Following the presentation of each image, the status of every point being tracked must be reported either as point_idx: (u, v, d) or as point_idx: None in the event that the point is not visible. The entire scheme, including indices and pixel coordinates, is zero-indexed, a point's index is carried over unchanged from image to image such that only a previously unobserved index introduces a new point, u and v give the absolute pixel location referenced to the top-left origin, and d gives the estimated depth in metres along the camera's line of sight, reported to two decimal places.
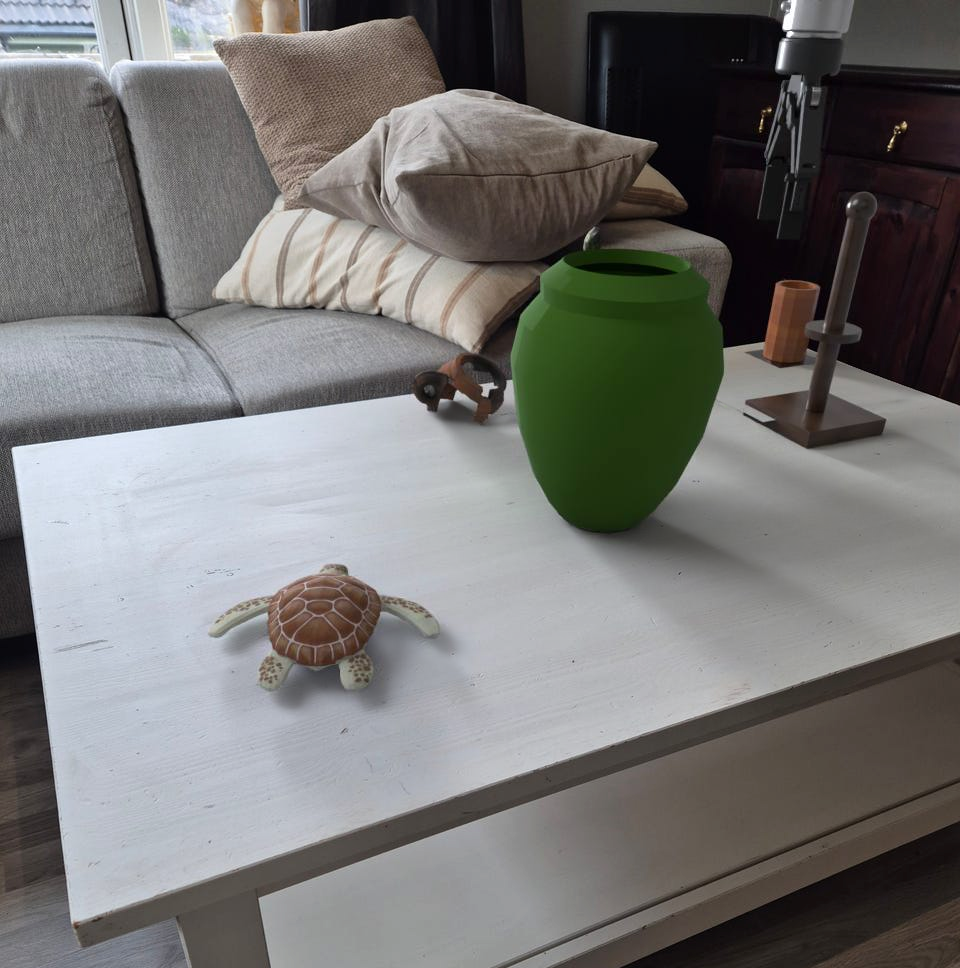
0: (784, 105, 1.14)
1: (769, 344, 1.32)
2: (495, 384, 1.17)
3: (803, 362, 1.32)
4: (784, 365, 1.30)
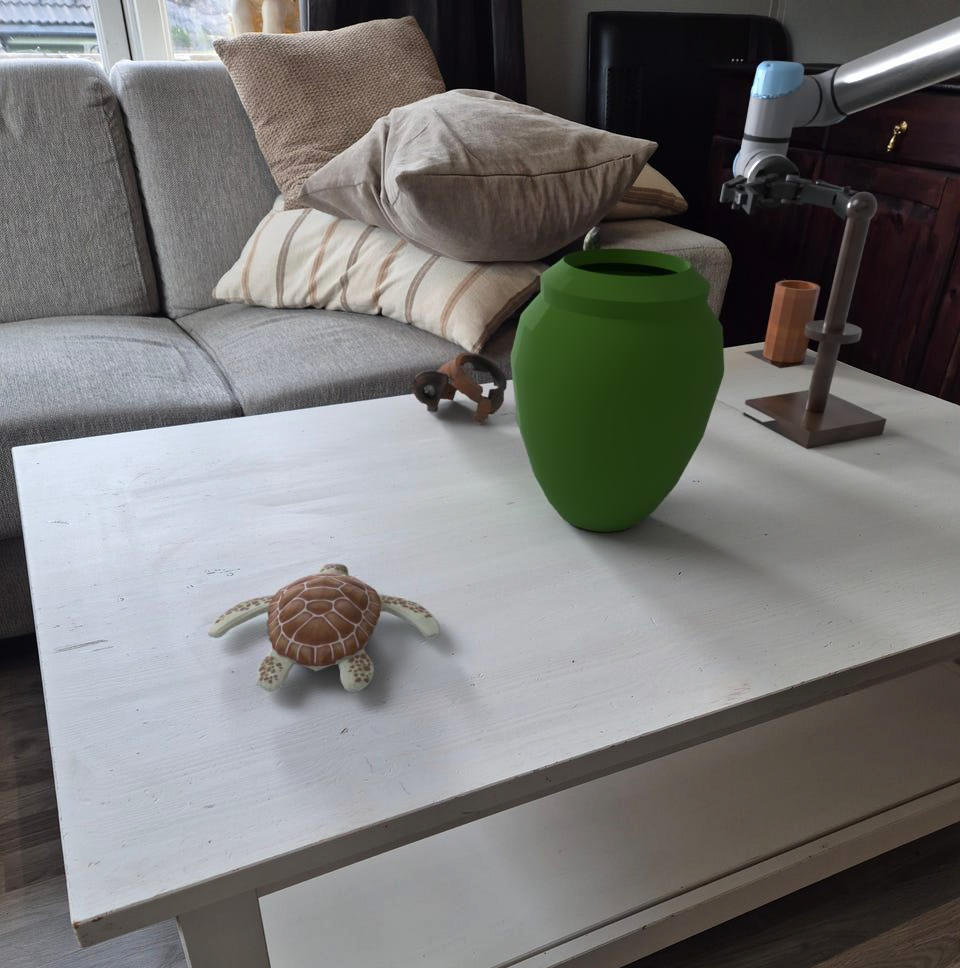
0: (786, 201, 1.43)
1: (769, 344, 1.32)
2: (495, 384, 1.17)
3: (803, 362, 1.32)
4: (784, 365, 1.30)
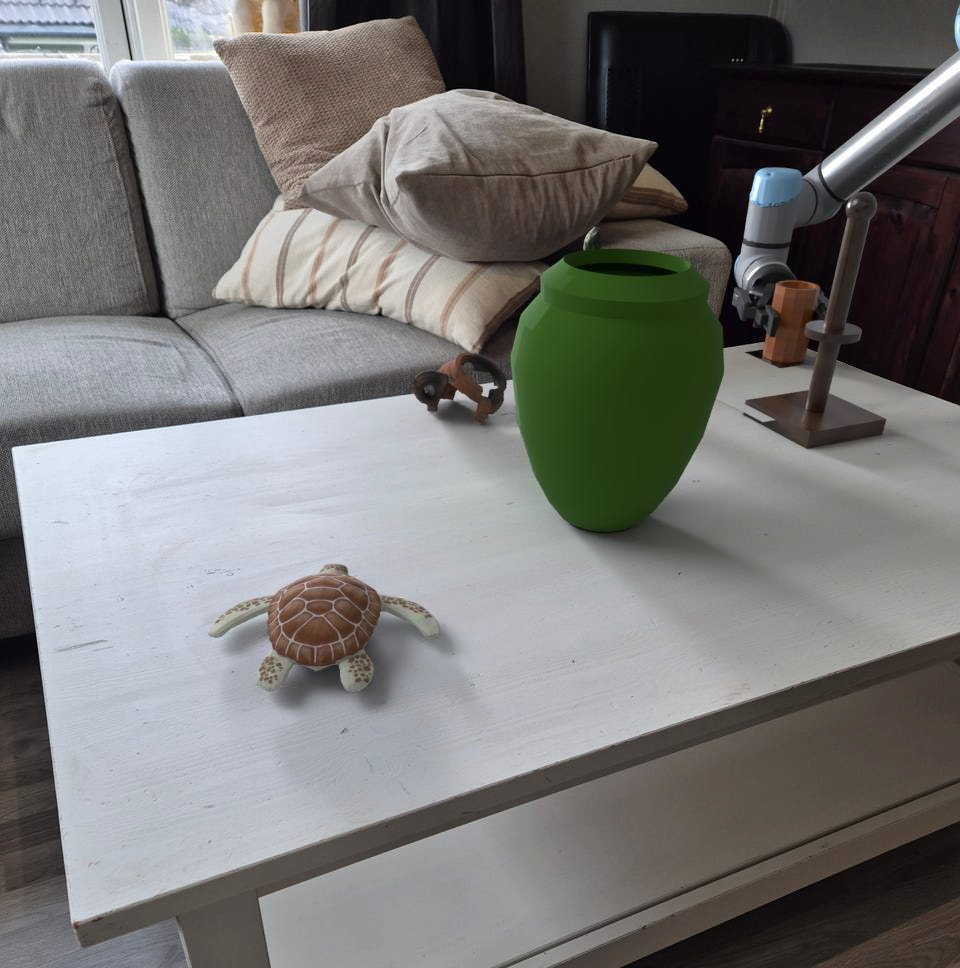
0: None
1: (769, 344, 1.32)
2: (495, 384, 1.17)
3: (803, 362, 1.32)
4: (784, 365, 1.30)
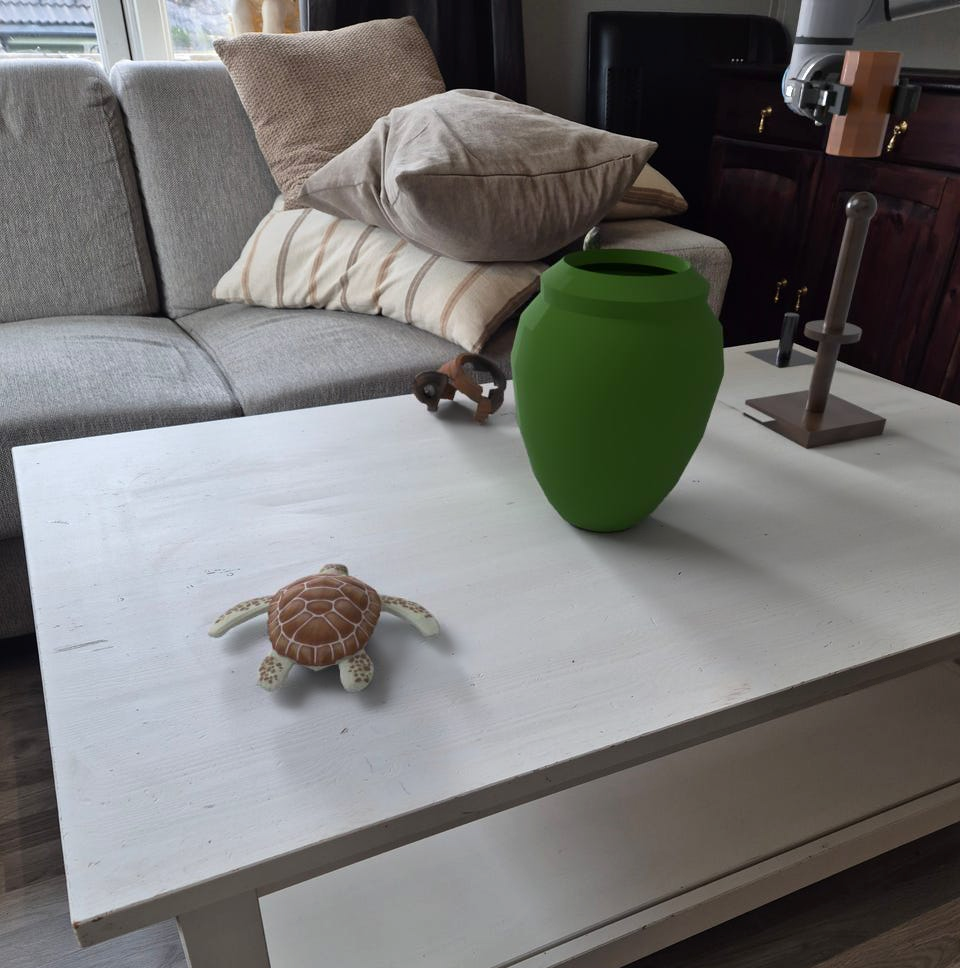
0: None
1: (835, 134, 1.04)
2: (495, 384, 1.17)
3: (803, 362, 1.32)
4: (784, 365, 1.30)
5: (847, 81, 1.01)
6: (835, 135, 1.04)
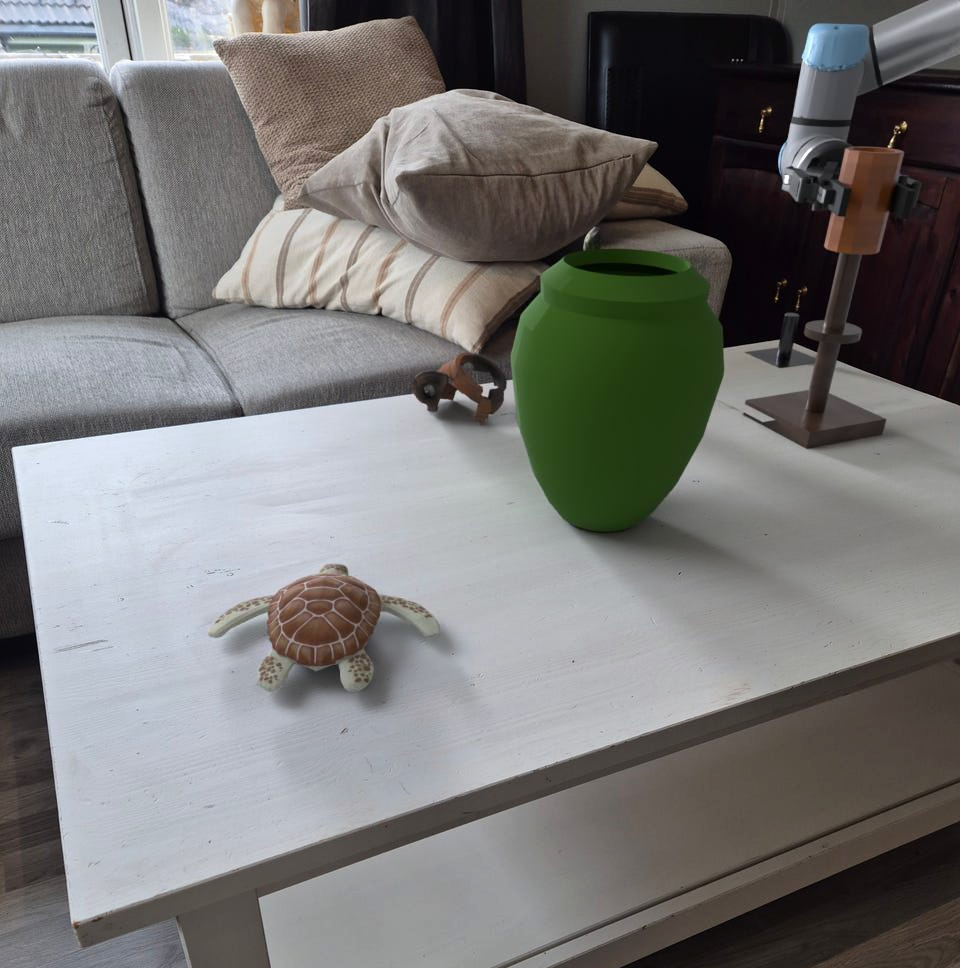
0: None
1: (834, 231, 1.02)
2: (495, 384, 1.17)
3: (803, 362, 1.32)
4: (784, 365, 1.30)
5: (846, 180, 0.99)
6: (834, 232, 1.02)
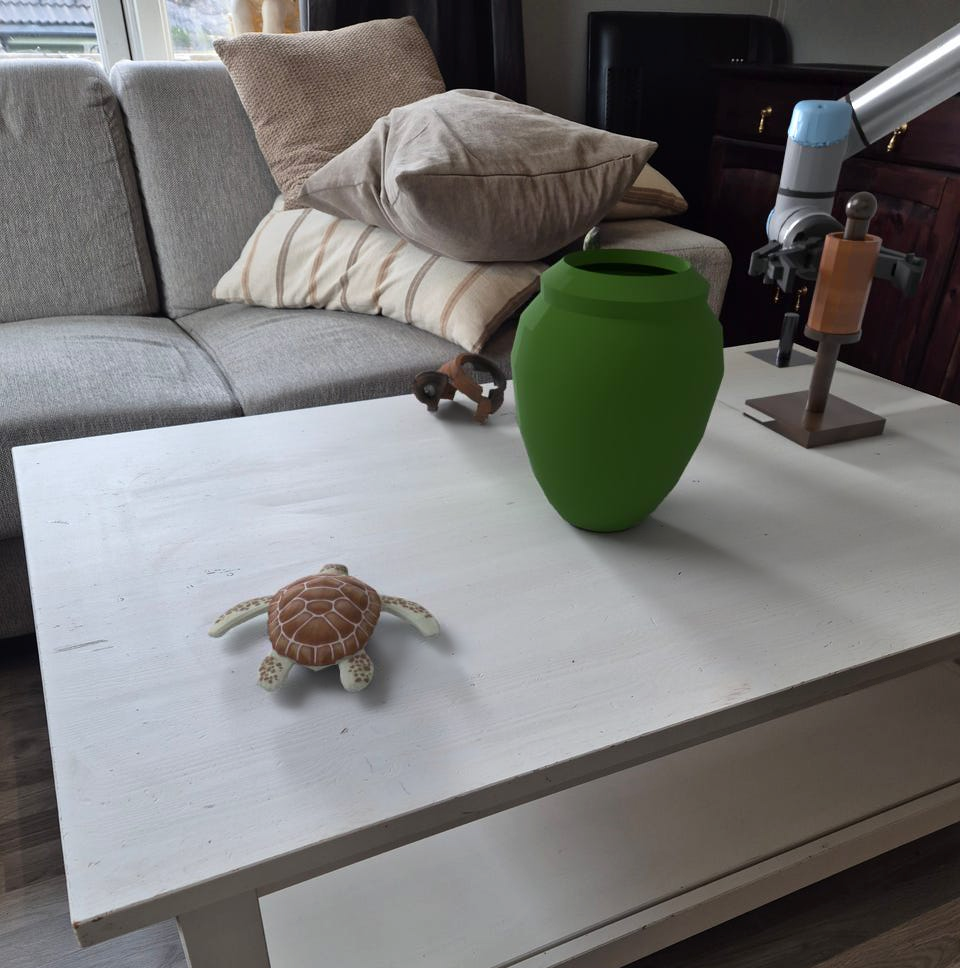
0: None
1: (816, 311, 1.07)
2: (495, 384, 1.17)
3: (803, 362, 1.32)
4: (784, 365, 1.30)
5: (827, 265, 1.04)
6: (816, 312, 1.07)
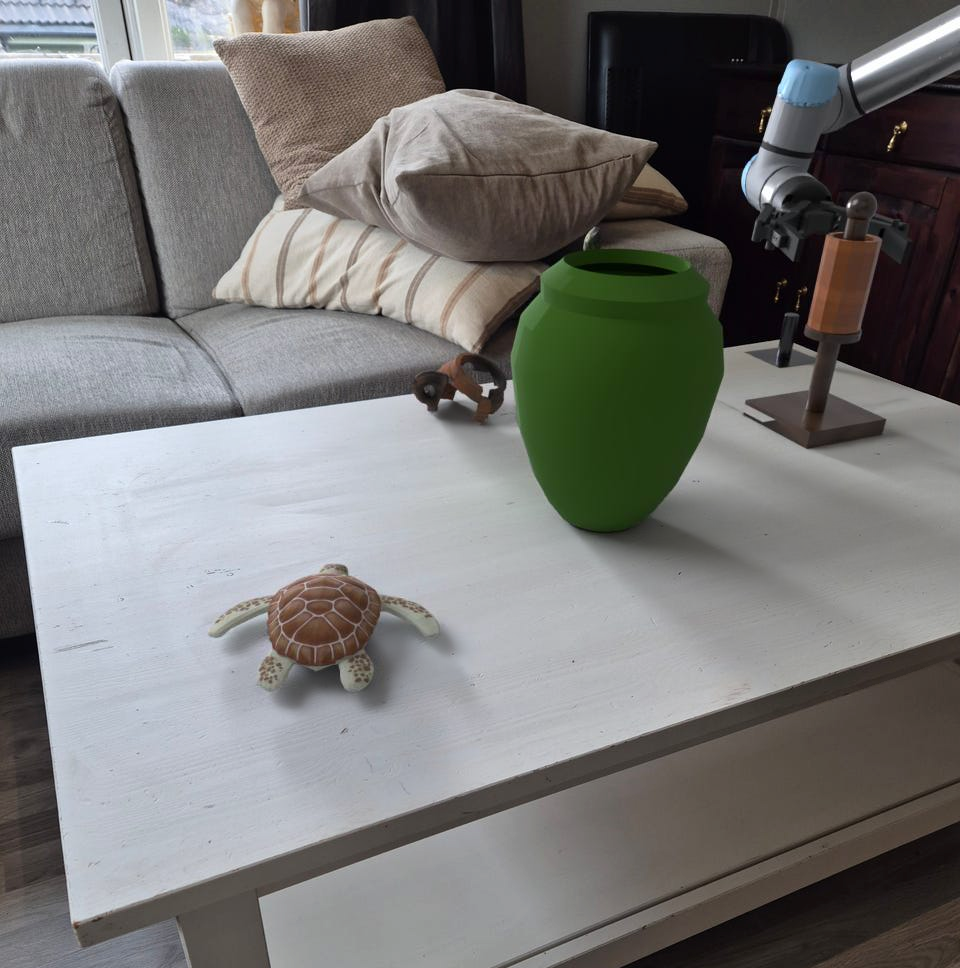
0: (819, 232, 1.24)
1: (816, 311, 1.07)
2: (495, 384, 1.17)
3: (803, 362, 1.32)
4: (784, 365, 1.30)
5: (827, 265, 1.04)
6: (816, 312, 1.07)
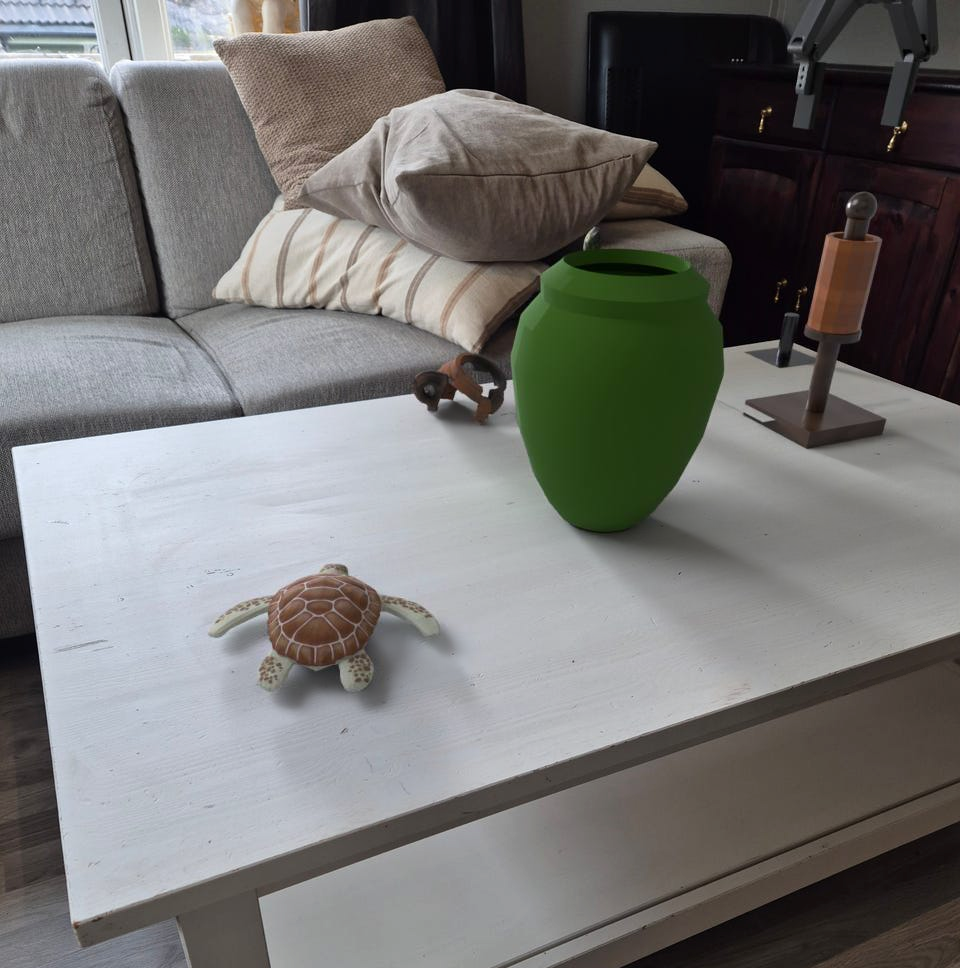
0: None
1: (816, 311, 1.07)
2: (495, 384, 1.17)
3: (803, 362, 1.32)
4: (784, 365, 1.30)
5: (827, 265, 1.04)
6: (816, 312, 1.07)
